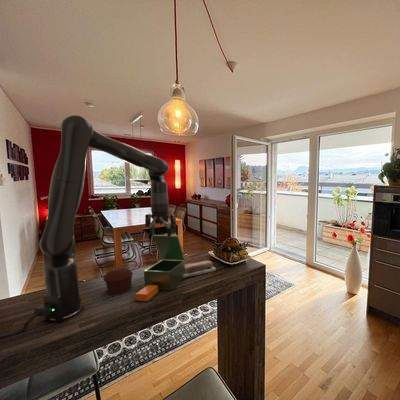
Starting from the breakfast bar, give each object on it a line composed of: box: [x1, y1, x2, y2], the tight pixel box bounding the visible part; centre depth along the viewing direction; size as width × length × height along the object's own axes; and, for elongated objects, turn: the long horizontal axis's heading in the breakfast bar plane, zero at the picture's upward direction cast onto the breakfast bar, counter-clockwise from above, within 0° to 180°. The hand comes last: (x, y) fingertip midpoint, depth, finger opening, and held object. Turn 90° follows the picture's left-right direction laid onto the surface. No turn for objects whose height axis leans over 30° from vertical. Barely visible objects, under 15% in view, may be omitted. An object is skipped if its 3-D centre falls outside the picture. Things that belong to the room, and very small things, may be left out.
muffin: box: [102, 266, 134, 295], centre depth 106 cm, size 12×11×10 cm
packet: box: [135, 285, 159, 302], centre depth 100 cm, size 5×8×3 cm, turn 173°
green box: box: [143, 259, 186, 291], centre depth 112 cm, size 15×13×9 cm
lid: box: [152, 233, 186, 261], centre depth 117 cm, size 15×13×5 cm
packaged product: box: [183, 260, 217, 279], centre depth 125 cm, size 18×5×10 cm
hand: (161, 235), depth 109 cm, fingers open, 8 cm apart
